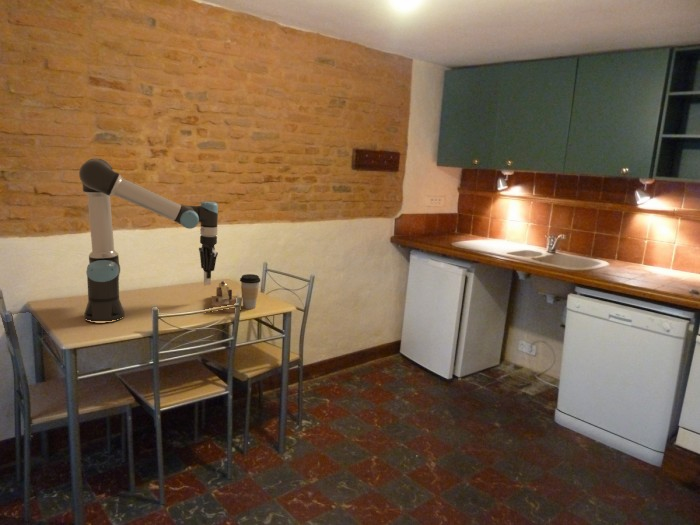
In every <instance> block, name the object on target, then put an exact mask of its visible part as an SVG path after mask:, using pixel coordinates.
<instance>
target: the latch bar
mask: <svg viewBox="0 0 700 525" xmlns="http://www.w3.org/2000/svg"><path fill="white" fill-rule="evenodd" d="M218 287H219V288H220V289H221V292H222V297H223V298H228V291H227V287H228V283H227V282H226V281H224V280H221V281H220V282H219V283H218Z"/></svg>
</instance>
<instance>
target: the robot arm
mask: <svg viewBox="0 0 700 525" xmlns="http://www.w3.org/2000/svg"><path fill="white" fill-rule="evenodd" d="M78 173H79V174H78V175H79V179H80V181H81V183H82V185H81V186H82V192H83V193H84V194H85V195H86V196H87V204H88V205H87V206H88V215H89V217H88V218H89V228H90V238H91V252H90V253H89V254H88V265H87V266H86V277H87V278H86V279H87V297H88V298H87V299H88V301H87V303H86V304H87V305H86V306H85V311H84V317H83V318H85V319H87V320H91V321H112V320H117V319H120V318H122V317H124V318H125V311H124V310H125V309H124V308H123V306H122V305H123V304H122V302H121V299H120V285H119V284H120V282H119V280H120V274H121V265H120V261H119V259H120V258H119V253H118V252H117V251H116V250H115V246H114V245H115V243H114V227H113V217H112V205H111V203H112V201H111V196H114V197H115V196H116V197H118V198H120V199H123V200H125V201H127V202H130V203H131V204H134V205H137V206H139V207H140V208H143V209H145V210H148V211H150V212H153V213H154V214H157V215H159V216H161V217H163V218H166V219H168V220H171V221H173V222H174V223H177V224H180V225H181V226H182V227H184V228H185V229H188V230H191V229H194V228H196V227H197V225H199V223H200V231H199V232H200V233H199V234H200V237H199V243H200V244H201V247H199V248H198V252H199V257H200V259H199V260H200V269H203V285H204V286H207V285H208V286H209V285H212V284H211V283H212V281H211V279H212V272H214V271H215V269H216V262H217V257H218V254H219V253H218V252H217V251H216V248H215V245H217V243H218V241H217V240H218V223H219V222H218V221H219V217H218V216H219V210H218V209H219V205H218V203H217V202H215V201H201V202H200V205H182V204H180V203H177V202H176V201H173V200H171V199H169V198H167V197H164V196H162V195H160V194H158V193H155V192H153V191H152V190H149V189H147V188H145V187H142V186H140V185H138V184H136V183H134V182H131V181H129V180H128V179H125V178H123V176H122V175H121V174H120V173H119V172H116V171H114V169H113V167H112V165H111V164H110V163H109V162H108V161H106V160H104V159H101V158H91V159H88V160H87V161H85V162H84V163H83V164H82V165H81V166H80V169H79V172H78ZM85 319H84V320H85Z"/></svg>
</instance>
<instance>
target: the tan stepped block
mask: <svg viewBox="0 0 700 525" xmlns="http://www.w3.org/2000/svg"><path fill="white" fill-rule="evenodd" d="M237 296H238V295H233V290H232V289H229V296H228V298H223V297H222V296H216V295H211V299H210V300H211V305H210V306H211V309H212V308H213V307H221V306H227V305H234V304H235V303H236V298H237ZM234 312H235V308H229V309H223V310H218V311H213V312H212V311H211V314H217V313H218V314H224V313H225V314H226V313H227V314H229V313H230V314H231V313H234Z"/></svg>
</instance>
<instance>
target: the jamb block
mask: <svg viewBox="0 0 700 525" xmlns="http://www.w3.org/2000/svg"><path fill="white" fill-rule="evenodd" d="M229 290H230V287H229V286H227V291H228V296H229ZM215 296H222V292H221V289H220V288H219V286H217V287H216V294H215Z"/></svg>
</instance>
